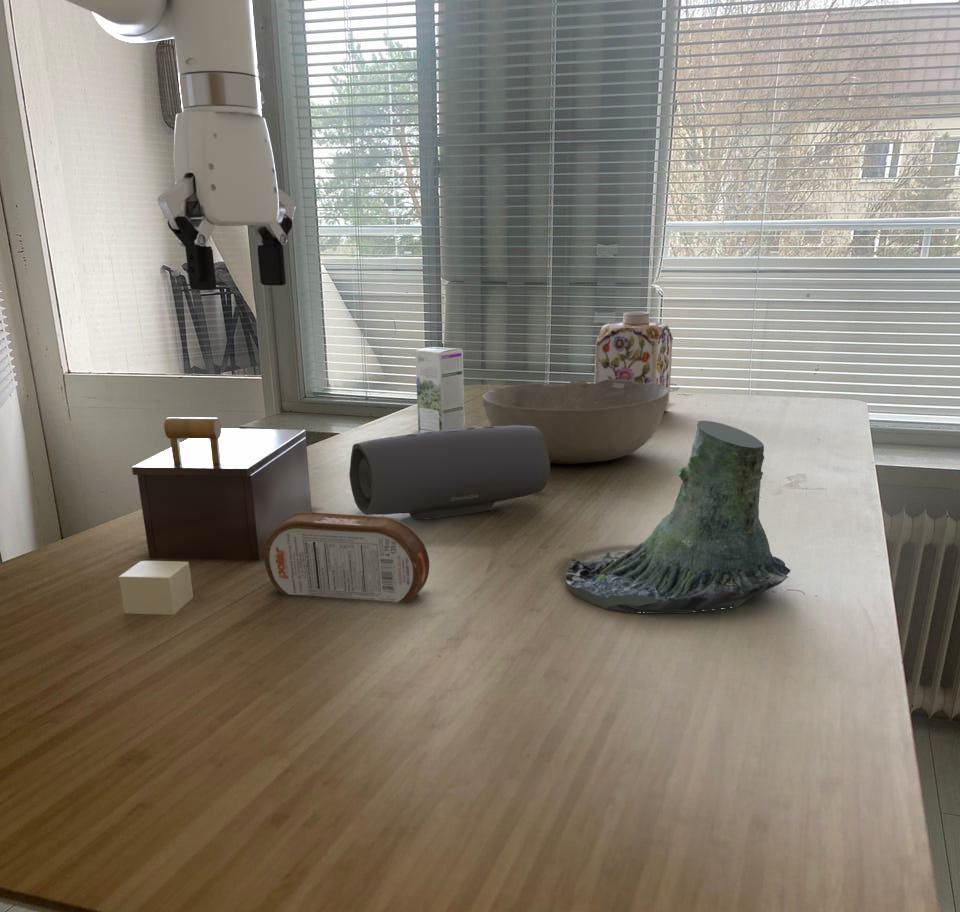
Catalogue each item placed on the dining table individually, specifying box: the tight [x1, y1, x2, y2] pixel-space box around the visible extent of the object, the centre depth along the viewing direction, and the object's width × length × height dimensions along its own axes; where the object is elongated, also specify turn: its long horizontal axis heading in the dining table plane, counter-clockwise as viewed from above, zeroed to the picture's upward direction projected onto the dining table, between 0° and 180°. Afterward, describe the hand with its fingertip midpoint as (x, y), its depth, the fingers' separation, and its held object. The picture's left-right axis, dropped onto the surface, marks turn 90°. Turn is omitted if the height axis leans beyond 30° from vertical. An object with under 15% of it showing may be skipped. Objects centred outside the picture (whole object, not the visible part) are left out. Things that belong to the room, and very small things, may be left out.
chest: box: [136, 436, 313, 561], centre depth 106 cm, size 20×12×10 cm, turn 174°
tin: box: [263, 511, 430, 604], centre depth 87 cm, size 15×3×8 cm, turn 77°
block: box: [118, 560, 194, 616], centre depth 86 cm, size 4×4×4 cm
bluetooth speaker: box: [348, 425, 551, 520], centre depth 117 cm, size 23×9×10 cm, turn 115°
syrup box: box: [414, 346, 466, 433], centre depth 159 cm, size 6×6×14 cm
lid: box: [131, 417, 307, 477], centre depth 103 cm, size 20×12×5 cm, turn 174°
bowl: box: [481, 379, 670, 465], centre depth 146 cm, size 28×28×10 cm
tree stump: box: [565, 420, 792, 614], centre depth 90 cm, size 18×20×18 cm
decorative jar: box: [593, 311, 674, 412], centre depth 179 cm, size 12×12×18 cm
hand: (239, 287), depth 101 cm, fingers open, 9 cm apart
